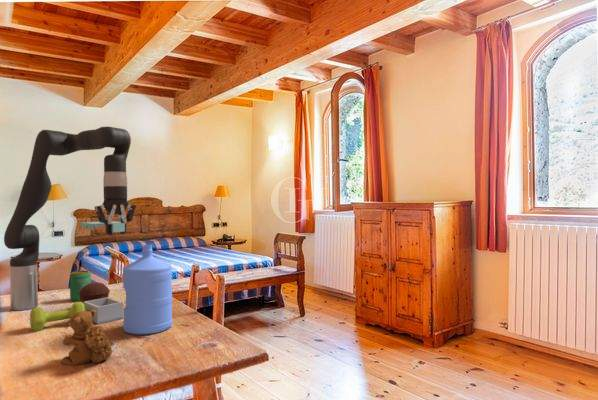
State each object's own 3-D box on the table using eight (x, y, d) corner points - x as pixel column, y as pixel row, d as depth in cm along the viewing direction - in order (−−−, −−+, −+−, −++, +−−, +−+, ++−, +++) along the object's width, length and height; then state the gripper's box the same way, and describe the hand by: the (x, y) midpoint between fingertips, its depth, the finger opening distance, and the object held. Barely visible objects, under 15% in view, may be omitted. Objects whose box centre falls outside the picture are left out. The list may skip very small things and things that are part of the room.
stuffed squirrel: (86, 350, 121) (86, 304, 121) (124, 357, 115) (123, 309, 115) (54, 363, 111) (54, 314, 111) (93, 371, 106) (93, 319, 106)
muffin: (112, 309, 165) (112, 284, 165) (81, 314, 158) (80, 287, 158) (107, 303, 174) (106, 279, 174) (77, 307, 168) (76, 282, 168)
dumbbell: (31, 334, 136) (30, 311, 136) (29, 327, 142) (29, 306, 142) (86, 324, 146) (86, 303, 146) (83, 319, 152) (82, 299, 152)
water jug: (182, 324, 145) (181, 243, 144) (148, 338, 130) (147, 248, 130) (148, 318, 151) (147, 241, 151) (112, 331, 137) (111, 246, 137)
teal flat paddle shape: (80, 230, 152) (80, 222, 152) (109, 228, 160) (109, 221, 160) (103, 232, 139) (103, 224, 139) (134, 230, 147) (134, 222, 147)
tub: (83, 318, 153) (83, 301, 153) (108, 312, 160) (108, 297, 159) (97, 324, 145) (97, 307, 145) (123, 318, 152) (122, 302, 152)
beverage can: (87, 296, 186) (87, 269, 186) (93, 299, 180) (93, 272, 180) (68, 299, 181) (67, 272, 181) (73, 303, 175) (72, 274, 175)
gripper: (130, 185, 152) (130, 232, 152) (89, 185, 142) (90, 235, 142) (140, 185, 147) (140, 233, 148) (99, 184, 137) (99, 237, 137)
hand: (116, 234), depth 145 cm, fingers closed on teal flat paddle shape, 4 cm apart
